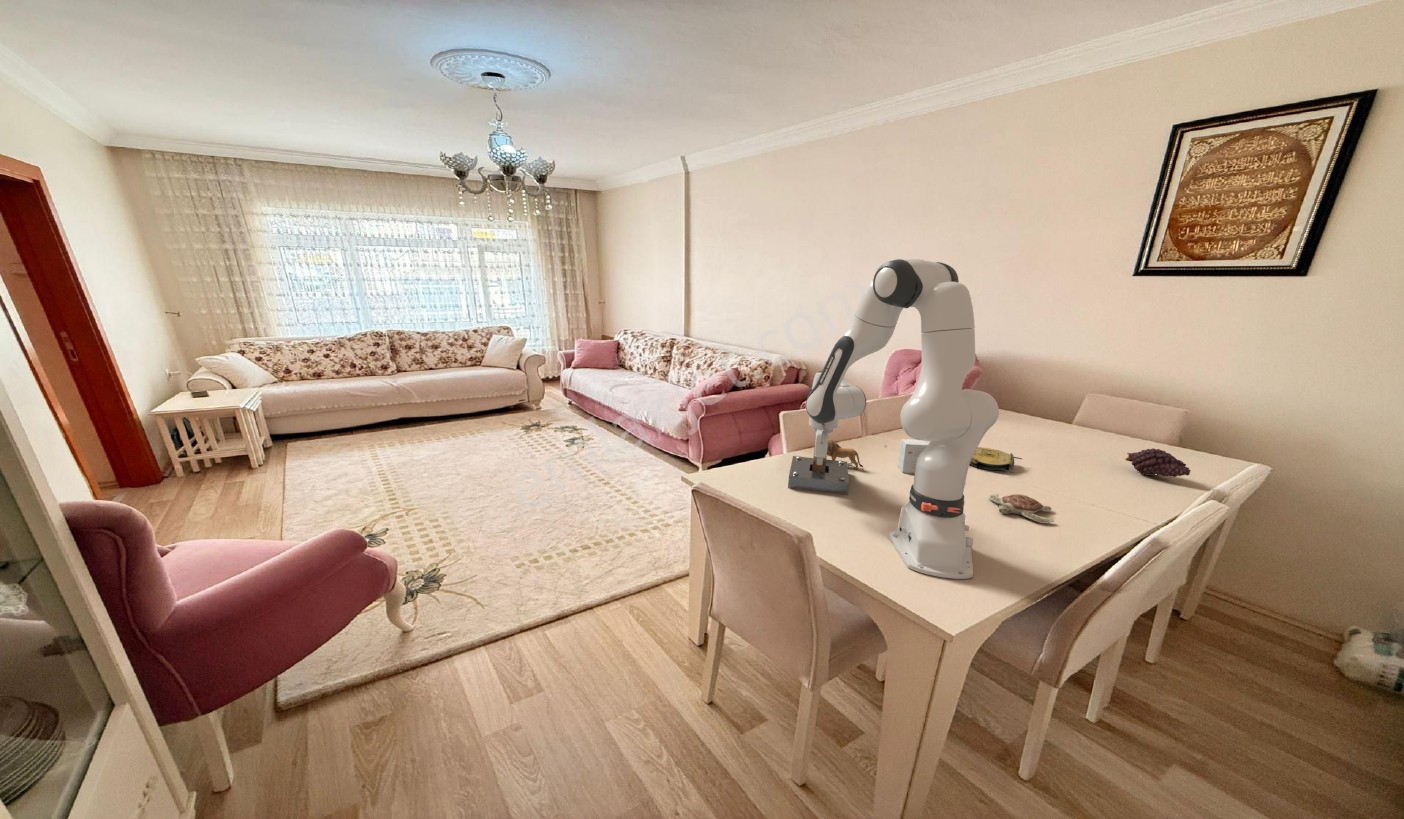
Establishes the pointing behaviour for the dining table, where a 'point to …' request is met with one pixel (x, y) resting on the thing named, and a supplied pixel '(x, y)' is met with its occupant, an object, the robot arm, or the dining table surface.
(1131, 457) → the pine cone
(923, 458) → the robot arm
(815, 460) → the brown wooden block
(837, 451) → the lion figurine
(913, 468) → the small box
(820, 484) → the slotted grey base block
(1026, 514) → the decorative turtle
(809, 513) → the dining table surface
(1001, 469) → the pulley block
